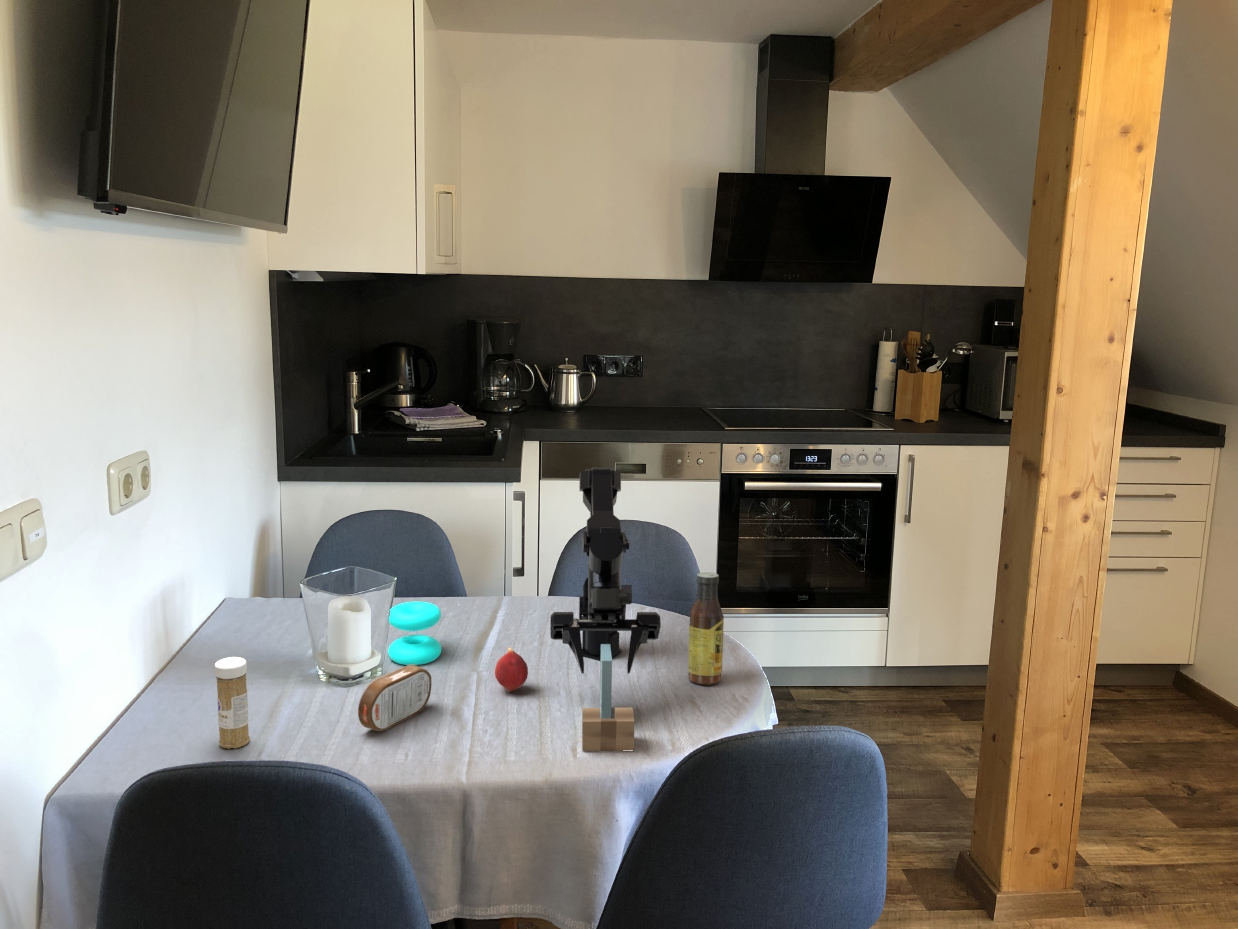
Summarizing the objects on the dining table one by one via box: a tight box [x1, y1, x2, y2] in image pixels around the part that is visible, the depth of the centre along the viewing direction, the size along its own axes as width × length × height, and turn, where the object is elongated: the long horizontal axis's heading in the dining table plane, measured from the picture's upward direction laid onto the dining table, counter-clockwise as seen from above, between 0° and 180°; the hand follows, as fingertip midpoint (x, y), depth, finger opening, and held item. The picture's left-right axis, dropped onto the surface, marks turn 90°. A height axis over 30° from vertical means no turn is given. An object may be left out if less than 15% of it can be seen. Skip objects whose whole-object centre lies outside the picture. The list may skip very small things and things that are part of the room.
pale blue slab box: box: [599, 644, 613, 719], centre depth 165 cm, size 8×2×11 cm, turn 3°
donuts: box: [387, 601, 442, 666], centre depth 189 cm, size 10×10×10 cm
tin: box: [357, 664, 432, 732], centre depth 162 cm, size 15×3×8 cm, turn 149°
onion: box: [494, 647, 529, 692], centre depth 174 cm, size 6×6×8 cm
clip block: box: [581, 707, 635, 752], centre depth 155 cm, size 5×8×5 cm, turn 93°
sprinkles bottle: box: [214, 656, 251, 750], centre depth 152 cm, size 5×5×13 cm
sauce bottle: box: [687, 571, 725, 686], centre depth 180 cm, size 6×6×20 cm
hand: (605, 672), depth 165 cm, fingers open, 7 cm apart
